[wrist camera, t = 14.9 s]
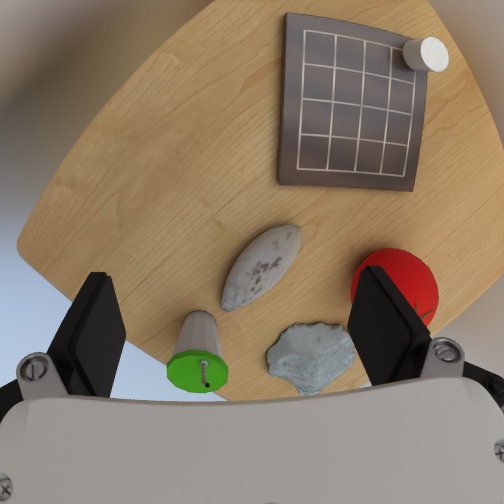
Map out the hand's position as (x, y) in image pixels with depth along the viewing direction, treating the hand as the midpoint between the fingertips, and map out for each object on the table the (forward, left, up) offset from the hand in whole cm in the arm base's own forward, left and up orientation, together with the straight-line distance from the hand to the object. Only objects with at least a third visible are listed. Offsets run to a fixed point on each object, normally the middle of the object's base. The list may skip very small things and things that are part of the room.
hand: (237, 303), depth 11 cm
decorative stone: (+14, +4, -26) cm, 30 cm away
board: (-7, +15, -26) cm, 31 cm away
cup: (+24, -4, -27) cm, 36 cm away
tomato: (+16, +22, -27) cm, 38 cm away
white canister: (-15, +22, -25) cm, 36 cm away
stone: (+32, +14, -27) cm, 44 cm away
